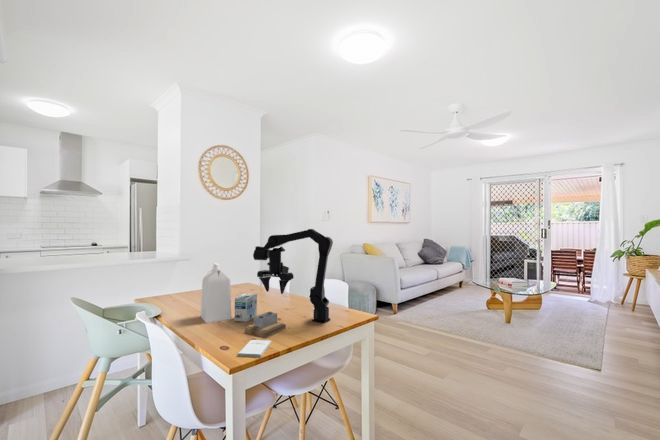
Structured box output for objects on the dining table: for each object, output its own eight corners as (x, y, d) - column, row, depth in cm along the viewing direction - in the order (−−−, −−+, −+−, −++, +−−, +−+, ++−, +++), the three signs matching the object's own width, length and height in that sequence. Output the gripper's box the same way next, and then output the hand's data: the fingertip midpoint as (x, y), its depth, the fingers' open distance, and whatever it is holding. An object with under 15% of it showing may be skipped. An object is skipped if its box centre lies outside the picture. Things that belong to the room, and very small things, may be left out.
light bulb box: (247, 322, 136) (247, 298, 137) (233, 321, 138) (234, 298, 138) (257, 315, 147) (257, 293, 147) (244, 314, 148) (245, 293, 149)
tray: (285, 329, 127) (285, 323, 128) (266, 337, 117) (266, 331, 117) (264, 324, 134) (264, 318, 134) (244, 332, 123) (244, 326, 123)
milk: (231, 318, 141) (232, 264, 142) (206, 323, 135) (206, 266, 135) (224, 312, 151) (225, 261, 152) (200, 316, 145) (201, 263, 145)
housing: (262, 328, 120) (262, 317, 120) (253, 326, 123) (253, 315, 123) (277, 322, 128) (277, 312, 128) (268, 320, 131) (268, 310, 131)
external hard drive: (237, 358, 101) (250, 343, 113) (260, 359, 100) (271, 344, 112) (237, 353, 101) (250, 339, 113) (260, 354, 100) (271, 340, 112)
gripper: (300, 260, 147) (300, 291, 146) (271, 258, 156) (271, 287, 156) (286, 262, 137) (285, 296, 137) (256, 260, 146) (256, 291, 146)
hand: (274, 292), depth 144 cm, fingers open, 9 cm apart
